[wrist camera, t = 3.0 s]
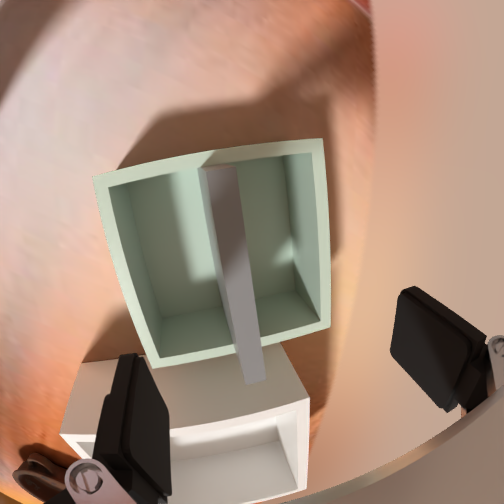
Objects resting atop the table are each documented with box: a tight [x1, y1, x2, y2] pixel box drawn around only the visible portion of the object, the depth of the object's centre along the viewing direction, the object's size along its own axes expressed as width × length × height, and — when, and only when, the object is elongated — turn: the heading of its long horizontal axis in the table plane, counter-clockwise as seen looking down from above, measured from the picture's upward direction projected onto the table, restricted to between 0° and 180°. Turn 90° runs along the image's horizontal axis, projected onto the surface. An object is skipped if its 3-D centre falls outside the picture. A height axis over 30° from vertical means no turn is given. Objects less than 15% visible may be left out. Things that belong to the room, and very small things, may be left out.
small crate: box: [92, 138, 331, 385], centre depth 18 cm, size 13×13×10 cm
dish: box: [12, 453, 67, 503], centre depth 27 cm, size 18×22×5 cm
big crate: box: [59, 342, 310, 504], centre depth 24 cm, size 19×19×9 cm
